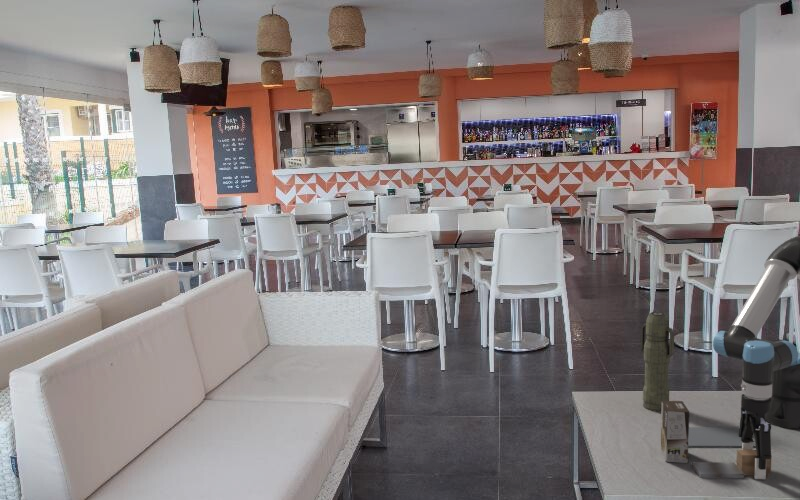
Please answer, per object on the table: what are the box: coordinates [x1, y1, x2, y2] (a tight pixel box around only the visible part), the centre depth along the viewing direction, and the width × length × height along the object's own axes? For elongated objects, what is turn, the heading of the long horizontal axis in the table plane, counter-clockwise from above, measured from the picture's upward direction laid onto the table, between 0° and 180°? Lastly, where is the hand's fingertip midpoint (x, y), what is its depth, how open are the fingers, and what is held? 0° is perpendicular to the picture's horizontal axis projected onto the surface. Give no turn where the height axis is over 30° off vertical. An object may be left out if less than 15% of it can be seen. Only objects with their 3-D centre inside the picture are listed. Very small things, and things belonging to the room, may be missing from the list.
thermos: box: [640, 311, 675, 413], centre depth 236 cm, size 9×12×35 cm
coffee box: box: [660, 400, 690, 464], centre depth 199 cm, size 9×6×16 cm
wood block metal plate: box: [691, 449, 773, 479], centre depth 189 cm, size 20×7×6 cm, turn 85°
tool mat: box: [688, 426, 756, 448], centre depth 212 cm, size 24×14×1 cm, turn 85°
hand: (753, 471), depth 189 cm, fingers open, 8 cm apart
